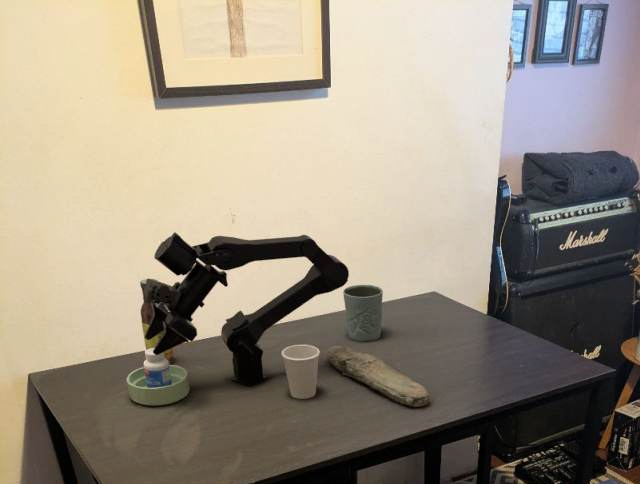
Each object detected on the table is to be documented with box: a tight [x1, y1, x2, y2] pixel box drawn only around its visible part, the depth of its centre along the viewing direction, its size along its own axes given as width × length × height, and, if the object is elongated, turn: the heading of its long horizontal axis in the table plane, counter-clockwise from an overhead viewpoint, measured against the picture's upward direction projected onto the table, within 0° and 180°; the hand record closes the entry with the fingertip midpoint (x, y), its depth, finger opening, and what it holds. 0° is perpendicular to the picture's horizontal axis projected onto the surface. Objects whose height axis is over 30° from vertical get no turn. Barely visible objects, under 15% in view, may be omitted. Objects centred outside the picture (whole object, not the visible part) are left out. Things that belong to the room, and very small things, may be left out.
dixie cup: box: [281, 344, 321, 400], centre depth 171 cm, size 8×8×10 cm
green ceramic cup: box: [342, 284, 384, 342], centre depth 200 cm, size 10×10×12 cm
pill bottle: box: [143, 348, 172, 388], centre depth 170 cm, size 6×5×10 cm
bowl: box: [126, 364, 191, 407], centre depth 172 cm, size 13×13×4 cm
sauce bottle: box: [139, 278, 174, 365], centre depth 182 cm, size 7×6×20 cm
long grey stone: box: [326, 345, 430, 408], centre depth 178 cm, size 35×5×10 cm
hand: (150, 346), depth 166 cm, fingers open, 9 cm apart
